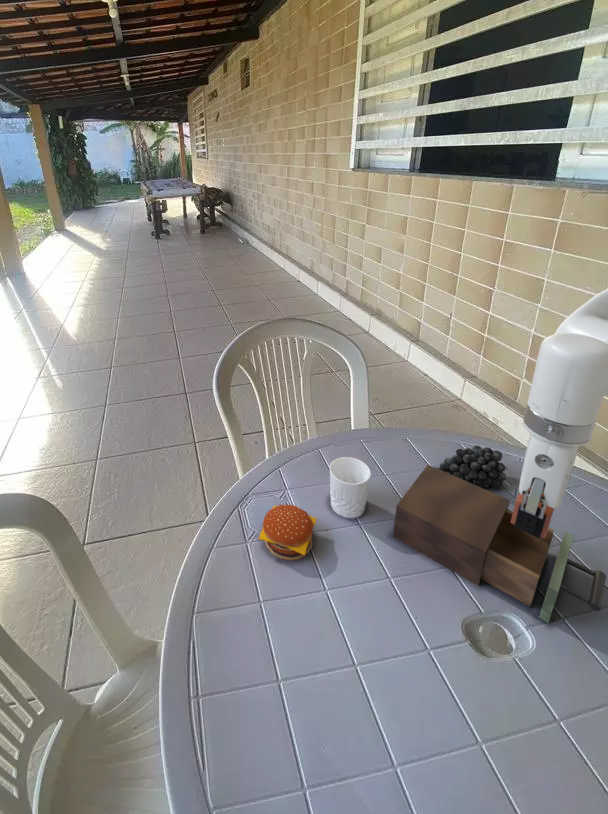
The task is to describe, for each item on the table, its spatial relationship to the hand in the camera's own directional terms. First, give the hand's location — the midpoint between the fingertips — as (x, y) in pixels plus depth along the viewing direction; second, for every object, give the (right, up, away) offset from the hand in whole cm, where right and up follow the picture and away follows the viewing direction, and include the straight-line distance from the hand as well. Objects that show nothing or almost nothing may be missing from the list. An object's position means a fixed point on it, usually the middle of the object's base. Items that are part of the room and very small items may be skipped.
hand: (531, 520), depth 65 cm
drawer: (+4, -12, +6) cm, 15 cm away
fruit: (+6, -5, +28) cm, 30 cm away
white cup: (-22, -9, +23) cm, 33 cm away
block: (0, 0, 0) cm, 0 cm away
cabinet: (-5, -11, +15) cm, 19 cm away
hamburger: (-35, -12, +16) cm, 40 cm away
